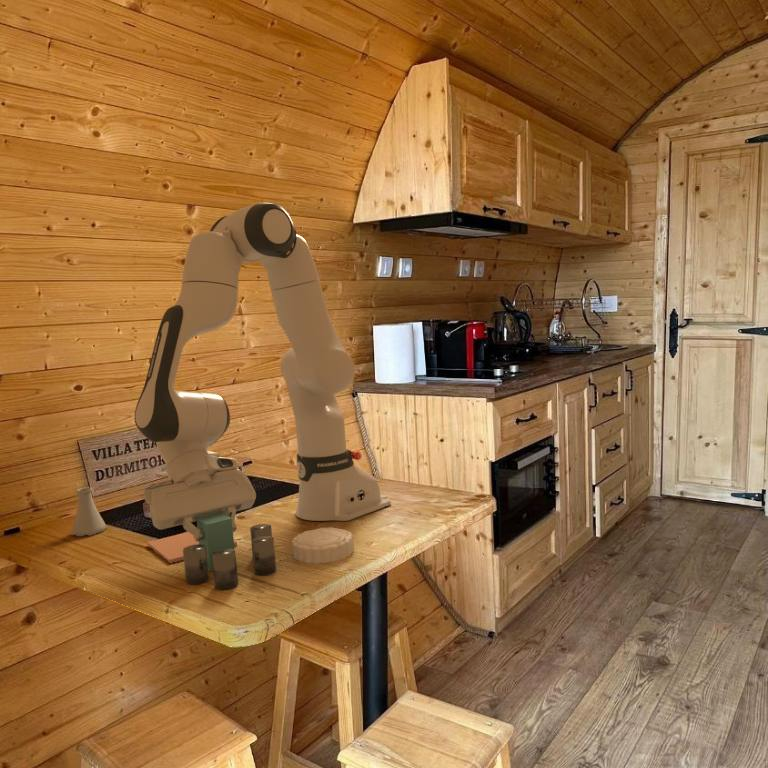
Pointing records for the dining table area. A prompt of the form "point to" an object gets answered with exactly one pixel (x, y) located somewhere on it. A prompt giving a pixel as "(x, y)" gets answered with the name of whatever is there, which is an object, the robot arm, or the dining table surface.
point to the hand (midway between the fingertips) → (216, 535)
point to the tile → (174, 546)
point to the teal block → (216, 534)
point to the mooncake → (322, 545)
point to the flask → (87, 515)
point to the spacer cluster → (230, 560)
